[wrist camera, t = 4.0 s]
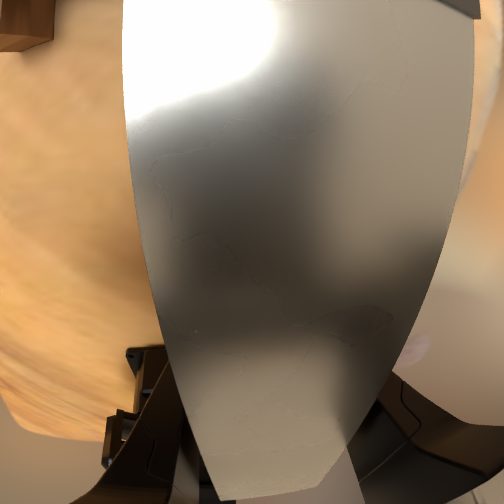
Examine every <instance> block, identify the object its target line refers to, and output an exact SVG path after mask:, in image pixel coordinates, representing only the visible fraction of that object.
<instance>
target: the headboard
mask: <svg viewBox="0 0 504 504" xmlns="http://www.w3.org/2000/svg"><path fill="white" fill-rule="evenodd" d="M54 8H55V0H0V52H20V51H23V50H25V49H28V48H30V47H33V46H36V45H38V44H41V43H44V42H47V41H50V40H53V31H54Z"/></svg>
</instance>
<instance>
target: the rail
mask: <svg viewBox="0 0 504 504" xmlns="http://www.w3.org/2000/svg"><path fill="white" fill-rule="evenodd" d="M473 19H481V14H480V2H479V0H124V12H123V81H124V102H125V117H126V130H127V141H128V151H129V160H130V169H131V177H132V185H133V192H134V199H135V206H136V212H137V218H138V224H139V230H140V236H141V242H142V247H143V252H144V257H145V262H146V267H147V272H148V277H149V282H150V286H151V291H152V295H153V299H154V304H155V308H156V312H157V316H158V320H159V324H160V328H161V332H162V336H163V339H164V343H165V347H166V350H167V354H168V357H169V361H170V364H171V368H172V371H173V374H174V378H175V381H176V384H177V387H178V391H179V394H180V397H181V400H182V403H183V406H184V409H185V412H186V415H187V418H188V421H189V423H190V426H191V429H192V432H193V434H194V437H195V440H196V443H197V445H198V448H199V450H200V453H201V456H202V458H203V461H204V463H205V466H206V468H207V471H208V473H209V475H210V478H211V480H212V483H213V485H214V487H215V490H216V492H217V494H218V496H219V499H220V501H224V500H237V499H246V498H255V497H262V496H270V495H276V494H281V493H288V492H292V491H298V490H303V489H308V488H312V487H316V486H317V485H318V484H319V483H320V482H321V480H322V479H323V478H324V476H325V475H326V474H327V473H328V471H329V470H330V468H331V467H332V466H333V464H334V463H335V462H336V460H337V459H338V457H339V456H340V455H341V453H342V452H343V450H344V449H345V447H346V446H347V445H348V443H349V442H350V440H351V439H352V437H353V436H354V434H355V433H356V431H357V430H358V428H359V426H360V425H361V423H362V422H363V420H364V418H365V417H366V415H367V414H368V412H369V410H370V409H371V407H372V405H373V403H374V402H375V400H376V398H377V397H378V395H379V393H380V391H381V389H382V388H383V386H384V384H385V382H386V380H387V378H388V377H389V375H390V373H391V371H392V369H393V367H394V365H395V363H396V361H397V359H398V357H399V355H400V353H401V351H402V349H403V347H404V345H405V343H406V340H407V338H408V336H409V334H410V332H411V329H412V327H413V325H414V323H415V320H416V318H417V316H418V313H419V311H420V309H421V306H422V304H423V301H424V299H425V296H426V293H427V291H428V288H429V286H430V283H431V280H432V277H433V275H434V272H435V269H436V266H437V263H438V260H439V257H440V254H441V251H442V248H443V245H444V241H445V238H446V235H447V231H448V228H449V224H450V221H451V217H452V213H453V209H454V205H455V201H456V197H457V193H458V189H459V184H460V179H461V175H462V169H463V164H464V159H465V153H466V147H467V141H468V134H469V126H470V118H471V108H472V97H473V83H474V20H473Z"/></svg>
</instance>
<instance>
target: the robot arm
mask: <svg viewBox="0 0 504 504" xmlns="http://www.w3.org/2000/svg"><path fill="white" fill-rule="evenodd" d="M126 358H127V360H128V363H129V365H130V367H131V369H132V371H133V374H134V376H135V378H136V385H135V394H134V405H133V413H129V412H125V411H124V410H120V409H117V413H116V415H114V416H110V417H107V423H106V432H105V439H104V446H103V454H102V462H101V464H102V466H103V467H104V468H105V469H106V471H105V473H104V474H103V475H102V477H101V478H100V480H99V481H98V482H97V484H96V485H95V486H94V487H93V488H92V489H91V490H90V491H89V492H87V493H86V494H85V495H83V496H81V497H79V498H78V499H76V500H75V501H73V502H71V503H69V504H236V500H224V501H220V499H219V496H218V494H217V492H216V490H215V487H214V485H213V483H212V480H211V478H210V475H209V473H208V471H207V468H206V466H205V463H204V461H203V458H202V456H201V453H200V450H199V448H198V445H197V443H196V440H195V437H194V434H193V432H192V429H191V426H190V423H189V421H188V418H187V415H186V412H185V409H184V406H183V403H182V400H181V397H180V394H179V391H178V387H177V384H176V381H175V378H174V374H173V371H172V368H171V364H170V361H169V357H168V354H167V350H166V348H147V349H128V350H126ZM121 439H124V440H126V441H121ZM347 449H348V452H349V455H350V458H351V461H352V464H353V467H354V470H355V473H356V476H357V479H358V482H359V485H360V488H361V491H362V494H363V497H364V500H365V504H504V426H490V425H475V424H469V423H466V422H463V421H461V420H459V419H457V418H456V417H454V416H453V415H451V414H450V413H448V412H447V411H445V410H443V409H442V408H440V407H439V406H437V405H436V404H434V403H433V402H431V401H430V400H428V399H427V398H425V397H424V396H423V395H421V394H420V393H419V392H417V391H416V390H415V389H414V388H412V387H411V386H410V385H409V384H407V383H406V382H405V381H403V380H402V379H401V378H400V377H399V376H398V375H396V374H395V373H394V372H393V371H391V373H390V375H389V377H388V378H387V380H386V382H385V384H384V386H383V388H382V389H381V391H380V393H379V395H378V397H377V398H376V400H375V402H374V403H373V405H372V407H371V409H370V410H369V412H368V414H367V415H366V417H365V418H364V420H363V422H362V423H361V425H360V426H359V428H358V430H357V431H356V433H355V434H354V436H353V437H352V439H351V440H350V442H349V443H348V445H347Z"/></svg>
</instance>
